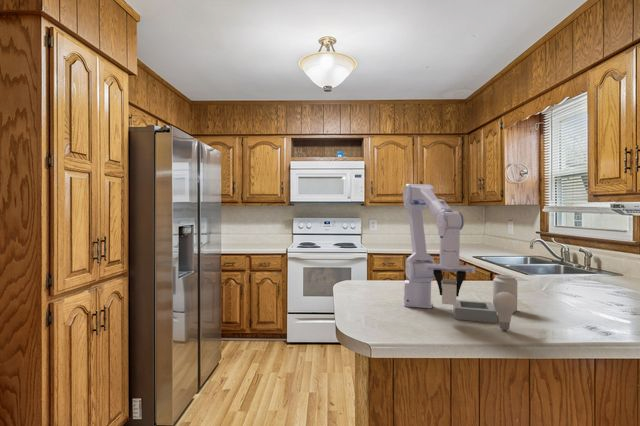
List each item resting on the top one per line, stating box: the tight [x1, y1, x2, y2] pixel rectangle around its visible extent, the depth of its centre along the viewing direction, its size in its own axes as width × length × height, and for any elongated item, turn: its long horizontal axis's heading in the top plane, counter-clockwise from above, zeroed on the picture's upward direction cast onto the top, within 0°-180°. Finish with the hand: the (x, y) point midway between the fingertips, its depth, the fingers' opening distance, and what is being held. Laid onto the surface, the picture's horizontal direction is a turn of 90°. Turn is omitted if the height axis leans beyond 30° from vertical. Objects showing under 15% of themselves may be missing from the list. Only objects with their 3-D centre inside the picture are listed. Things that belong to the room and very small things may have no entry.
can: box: [492, 274, 518, 313], centre depth 126 cm, size 8×8×12 cm
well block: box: [452, 299, 498, 324], centre depth 119 cm, size 12×12×4 cm
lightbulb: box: [492, 292, 518, 332], centre depth 104 cm, size 6×6×11 cm
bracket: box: [441, 278, 457, 306], centre depth 112 cm, size 4×5×7 cm
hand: (448, 295), depth 112 cm, fingers closed on bracket, 4 cm apart
